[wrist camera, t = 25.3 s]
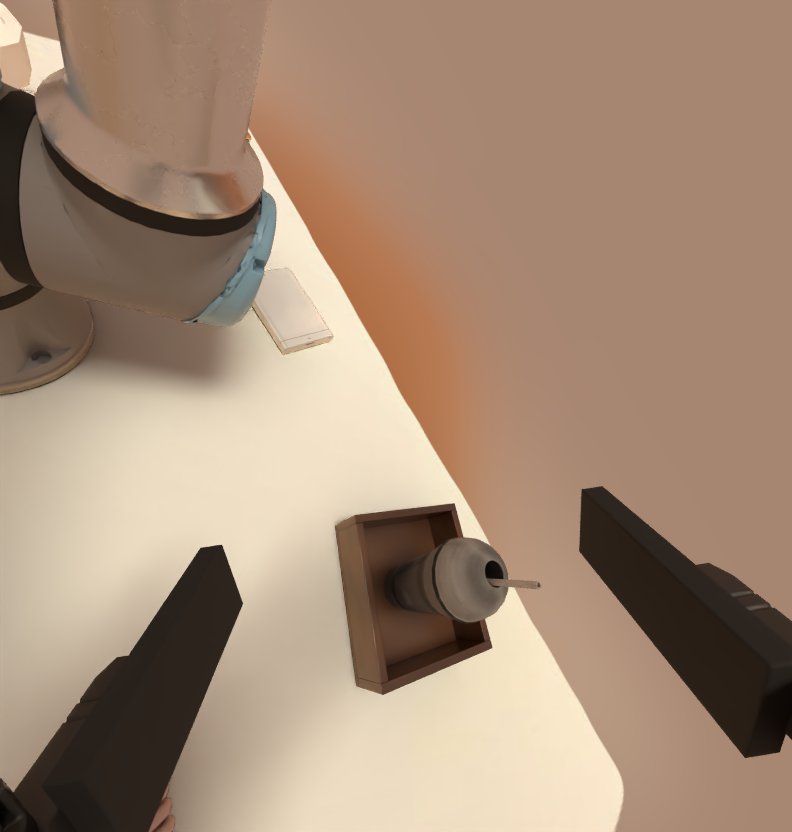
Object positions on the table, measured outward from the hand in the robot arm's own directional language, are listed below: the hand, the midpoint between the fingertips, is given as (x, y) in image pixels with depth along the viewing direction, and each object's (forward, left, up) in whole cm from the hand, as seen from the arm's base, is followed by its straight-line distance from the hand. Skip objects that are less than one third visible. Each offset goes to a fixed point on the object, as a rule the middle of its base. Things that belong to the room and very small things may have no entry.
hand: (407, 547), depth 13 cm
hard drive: (-36, +6, -29) cm, 46 cm away
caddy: (+2, +16, -29) cm, 33 cm away
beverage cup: (+3, +16, -28) cm, 33 cm away
